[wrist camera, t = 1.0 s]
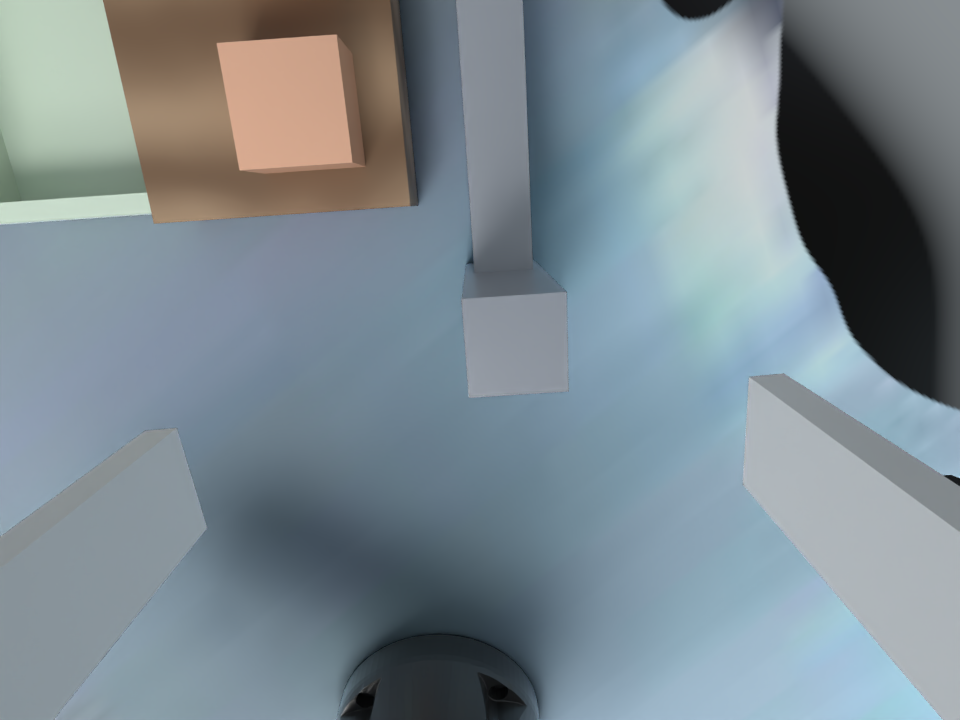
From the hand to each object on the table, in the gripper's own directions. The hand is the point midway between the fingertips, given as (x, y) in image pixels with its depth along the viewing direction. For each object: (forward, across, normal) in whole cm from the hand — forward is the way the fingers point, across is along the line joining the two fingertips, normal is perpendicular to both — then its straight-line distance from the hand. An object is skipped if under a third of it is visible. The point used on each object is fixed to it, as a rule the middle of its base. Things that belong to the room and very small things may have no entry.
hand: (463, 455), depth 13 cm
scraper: (+21, -2, -9) cm, 23 cm away
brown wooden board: (+21, +9, -14) cm, 27 cm away
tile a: (+17, +7, -10) cm, 21 cm away
